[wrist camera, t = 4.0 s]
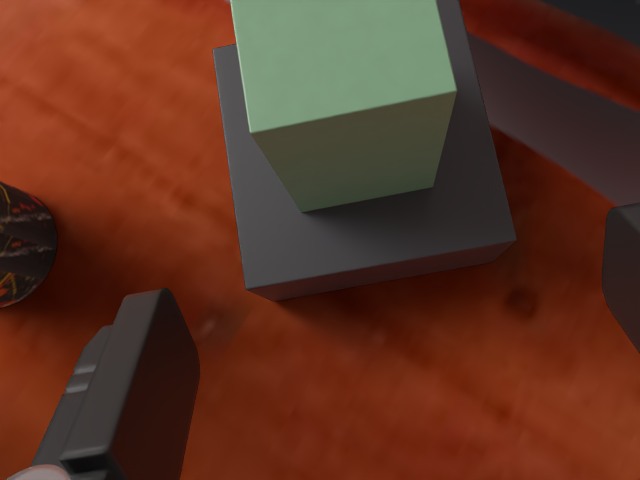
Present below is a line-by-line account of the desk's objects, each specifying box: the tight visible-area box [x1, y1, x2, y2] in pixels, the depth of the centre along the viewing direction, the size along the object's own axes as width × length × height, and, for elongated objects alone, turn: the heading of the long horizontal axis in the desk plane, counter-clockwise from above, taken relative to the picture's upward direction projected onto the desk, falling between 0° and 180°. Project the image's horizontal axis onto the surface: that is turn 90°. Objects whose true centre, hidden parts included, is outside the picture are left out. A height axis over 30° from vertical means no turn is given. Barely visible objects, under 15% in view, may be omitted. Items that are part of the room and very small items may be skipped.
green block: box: [230, 0, 457, 212], centre depth 18 cm, size 5×5×8 cm
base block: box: [213, 0, 517, 301], centre depth 24 cm, size 10×10×5 cm
